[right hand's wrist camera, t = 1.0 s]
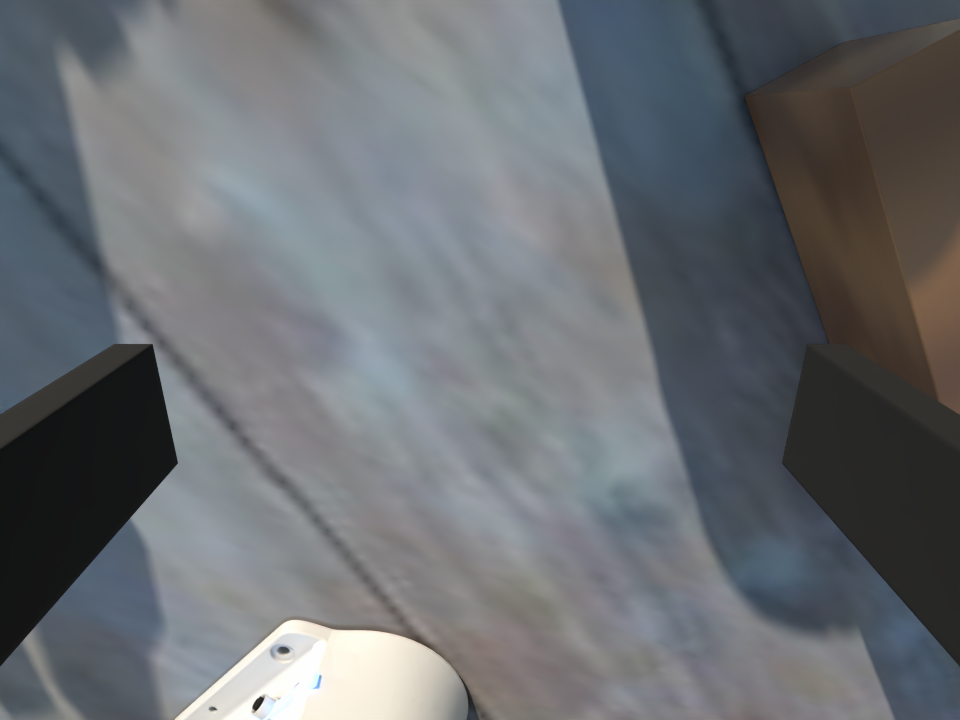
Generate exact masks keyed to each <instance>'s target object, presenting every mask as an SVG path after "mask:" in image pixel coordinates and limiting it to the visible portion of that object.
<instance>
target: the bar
mask: <svg viewBox="0 0 960 720" xmlns="http://www.w3.org/2000/svg"><path fill="white" fill-rule="evenodd" d="M745 100H746V103H747V106H748V109H749V111H750V114H751V117H752V120H753V123H754V126H755V129H756V132H757V135H758V138H759V141H760V143H761V146H762V149H763V152H764V155H765V158H766V161H767V164H768V167H769V170H770V173H771V175H772V178H773V181H774V184H775V187H776V190H777V193H778V196H779V199H780V202H781V205H782V207H783V210H784V213H785V216H786V219H787V222H788V225H789V228H790V231H791V234H792V237H793V239H794V242H795V245H796V248H797V251H798V254H799V257H800V260H801V263H802V266H803V269H804V271H805V274H806V277H807V280H808V283H809V286H810V289H811V292H812V295H813V298H814V301H815V303H816V306H817V309H818V312H819V315H820V318H821V321H822V324H823V327H824V330H825V333H826V335H827V338H828V341H829V344H846V345H848V346H850V347H851V348H853V349H854V350H856V351H858V352H859V353H861V354H862V355H864V356H866V357H867V358H869V359H871V360H872V361H874V362H875V363H877V364H879V365H880V366H882V367H883V368H885V369H887V370H888V371H890V372H892V373H893V374H895V375H896V376H898V377H900V378H901V379H903V380H905V381H906V382H908V383H909V384H911V385H913V386H914V387H916V388H917V389H919V390H921V391H922V392H924V393H926V394H927V395H929V396H930V397H932V398H934V399H935V400H937V401H938V402H940V403H942V404H943V405H945V406H947V407H948V408H950V409H951V410H953V411H955V412H956V413H958V414H960V19H955V20H950V21H945V22H940V23H935V24H930V25H926V26H921V27H916V28H911V29H906V30H901V31H896V32H891V33H887V34H882V35H877V36H872V37H867V38H862V39H857V40H852V41H848V42H843V43H841V44H840V45H838V46H836V47H834V48H832V49H830V50H828V51H827V52H825V53H823V54H821V55H819V56H817V57H815V58H814V59H812V60H810V61H808V62H806V63H804V64H802V65H801V66H799V67H797V68H795V69H793V70H791V71H789V72H788V73H786V74H784V75H782V76H780V77H778V78H776V79H775V80H773V81H771V82H769V83H767V84H765V85H763V86H762V87H760V88H758V89H756V90H754V91H752V92H750V93H749V94H747V95H745Z"/></svg>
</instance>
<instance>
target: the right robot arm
mask: <svg viewBox="0 0 960 720" xmlns="http://www.w3.org/2000/svg"><path fill="white" fill-rule="evenodd" d="M177 464H178V461H177V457H176V452H175V447H174V442H173V438H172V433H171V428H170V424H169V419H168V414H167V410H166V405H165V400H164V396H163V391H162V386H161V382H160V377H159V372H158V367H157V363H156V358H155V353H154V349H153V344H114V345H112V346H110V347H109V348H107V349H106V350H104V351H102V352H101V353H99V354H98V355H96V356H94V357H93V358H91V359H89V360H88V361H86V362H85V363H83V364H81V365H80V366H78V367H77V368H75V369H73V370H72V371H70V372H68V373H67V374H65V375H64V376H62V377H60V378H59V379H57V380H55V381H54V382H52V383H51V384H49V385H47V386H46V387H44V388H43V389H41V390H39V391H38V392H36V393H34V394H33V395H31V396H30V397H28V398H26V399H25V400H23V401H22V402H20V403H18V404H17V405H15V406H13V407H12V408H10V409H9V410H7V411H5V412H4V413H2V414H0V666H1V665H2V664H3V663H4V661H5V660H6V659H7V658H8V657H9V656H10V655H11V653H12V652H13V651H14V650H15V649H16V648H17V647H18V645H19V644H20V643H21V642H22V641H23V640H24V639H25V637H26V636H27V635H28V634H29V633H30V632H31V631H32V629H33V628H34V627H35V626H36V625H37V624H38V623H39V621H40V620H41V619H42V618H43V617H44V616H45V615H46V613H47V612H48V611H49V610H50V609H51V608H52V607H53V605H54V604H55V603H56V602H57V601H58V600H59V599H60V597H61V596H62V595H63V594H64V593H65V592H66V591H67V589H68V588H69V587H70V586H71V585H72V584H73V583H74V581H75V580H76V579H77V578H78V577H79V576H80V575H81V573H82V572H83V571H84V570H85V569H86V568H87V567H88V565H89V564H90V563H91V562H92V561H93V560H94V559H95V557H96V556H97V555H98V554H99V553H100V552H101V551H102V549H103V548H104V547H105V546H106V545H107V544H108V543H109V541H110V540H111V539H112V538H113V537H114V536H115V535H116V533H117V532H118V531H119V530H120V529H121V528H122V527H123V525H124V524H125V523H126V522H127V521H128V520H129V519H130V517H131V516H132V515H133V514H134V513H135V512H136V511H137V509H138V508H139V507H140V506H141V505H142V504H143V503H144V501H145V500H146V499H147V498H148V497H149V496H150V495H151V493H152V492H153V491H154V490H155V489H156V488H157V487H158V485H159V484H160V483H161V482H162V481H163V480H164V479H165V477H166V476H167V475H168V474H169V473H170V472H171V471H172V469H173V468H174V467H175V466H176V465H177ZM782 464H783V465H784V466H785V467H786V468H787V469H788V471H789V472H790V473H791V474H792V475H793V476H794V477H795V479H796V480H797V481H798V482H799V483H800V484H801V485H802V487H803V488H804V489H805V490H806V491H807V492H808V493H809V495H810V496H811V497H812V498H813V499H814V500H815V501H816V503H817V504H818V505H819V506H820V507H821V508H822V509H823V511H824V512H825V513H826V514H827V515H828V516H829V517H830V519H831V520H832V521H833V522H834V523H835V524H836V525H837V527H838V528H839V529H840V530H841V531H842V532H843V533H844V535H845V536H846V537H847V538H848V539H849V540H850V541H851V543H852V544H853V545H854V546H855V547H856V548H857V549H858V551H859V552H860V553H861V554H862V555H863V556H864V557H865V559H866V560H867V561H868V562H869V563H870V564H871V565H872V567H873V568H874V569H875V570H876V571H877V572H878V573H879V575H880V576H881V577H882V578H883V579H884V580H885V581H886V583H887V584H888V585H889V586H890V587H891V588H892V589H893V591H894V592H895V593H896V594H897V595H898V596H899V597H900V599H901V600H902V601H903V602H904V603H905V604H906V605H907V607H908V608H909V609H910V610H911V611H912V612H913V613H914V615H915V616H916V617H917V618H918V619H919V620H920V621H921V623H922V624H923V625H924V626H925V627H926V628H927V629H928V631H929V632H930V633H931V634H932V635H933V636H934V637H935V639H936V640H937V641H938V642H939V643H940V644H941V645H942V647H943V648H944V649H945V650H946V651H947V652H948V653H949V655H950V656H951V657H952V658H953V659H954V660H955V661H956V663H957V664H958V665H959V666H960V414H958V413H956V412H955V411H953V410H951V409H950V408H948V407H947V406H945V405H943V404H942V403H940V402H938V401H937V400H935V399H934V398H932V397H930V396H929V395H927V394H926V393H924V392H922V391H921V390H919V389H917V388H916V387H914V386H913V385H911V384H909V383H908V382H906V381H905V380H903V379H901V378H900V377H898V376H896V375H895V374H893V373H892V372H890V371H888V370H887V369H885V368H883V367H882V366H880V365H879V364H877V363H875V362H874V361H872V360H871V359H869V358H867V357H866V356H864V355H862V354H861V353H859V352H858V351H856V350H854V349H853V348H851V347H850V346H848V345H846V344H807V349H806V353H805V358H804V363H803V367H802V372H801V377H800V382H799V386H798V391H797V396H796V400H795V405H794V410H793V414H792V419H791V424H790V428H789V433H788V438H787V442H786V447H785V452H784V457H783V461H782Z"/></svg>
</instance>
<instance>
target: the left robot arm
mask: <svg viewBox="0 0 960 720" xmlns="http://www.w3.org/2000/svg"><path fill="white" fill-rule="evenodd" d="M467 716H468V697H467V693H466V689H465V687H464V684H463V682H462V680H461V679H460V677H459V675H458V674H457V673H456V671H455V670H454V669H453V668H452V666H451V665H450V664H449V663H448V662H447V661H446V660H444V659H443V658H442V657H441V656H440V655H438V654H437V653H436V652H434V651H432V650H431V649H429V648H428V647H426V646H424V645H422V644H420V643H418V642H416V641H413V640H411V639H408V638H405V637H402V636H399V635H395V634H390V633H385V632H379V631H368V630H335V629H330V628H327V627H324V626H321V625H318V624H314V623H311V622H307V621H302V620H290V621H287V622H285V623H283V624H282V625H281V626H280V627H278V628H277V629H276V630H275V631H274V632H273V633H272V634H270V635H269V636H268V637H267V638H266V639H265V640H264V641H263V642H261V643H260V644H259V645H258V646H257V647H256V648H255V649H253V650H252V651H251V652H250V653H249V654H248V655H247V656H246V657H244V658H243V659H242V660H241V661H240V662H239V663H238V664H236V665H235V666H234V667H233V668H232V669H231V670H230V671H229V672H227V673H226V674H225V675H224V676H223V677H222V678H221V679H219V680H218V681H217V682H216V683H215V684H214V685H213V686H212V687H210V688H209V689H208V690H207V691H206V692H205V693H204V694H203V695H201V696H200V697H199V698H198V699H197V700H196V701H195V702H193V703H192V704H191V705H190V706H189V707H188V708H187V709H186V710H184V711H183V712H182V713H181V714H180V715H179V716H178V717H177V718H176V719H175V720H467Z"/></svg>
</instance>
